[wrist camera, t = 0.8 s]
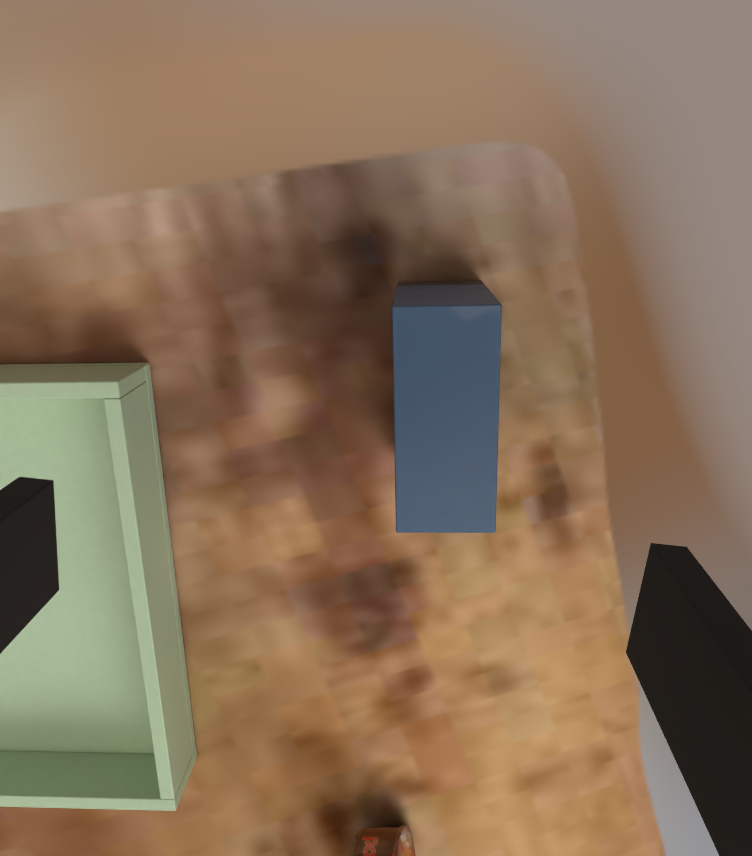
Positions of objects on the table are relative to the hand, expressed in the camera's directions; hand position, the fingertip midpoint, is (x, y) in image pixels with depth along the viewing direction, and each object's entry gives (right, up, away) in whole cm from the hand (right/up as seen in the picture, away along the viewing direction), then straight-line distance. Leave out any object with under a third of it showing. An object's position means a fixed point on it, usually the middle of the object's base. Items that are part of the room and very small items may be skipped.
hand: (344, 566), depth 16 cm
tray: (-19, -4, +20) cm, 28 cm away
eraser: (+3, +5, +15) cm, 17 cm away
